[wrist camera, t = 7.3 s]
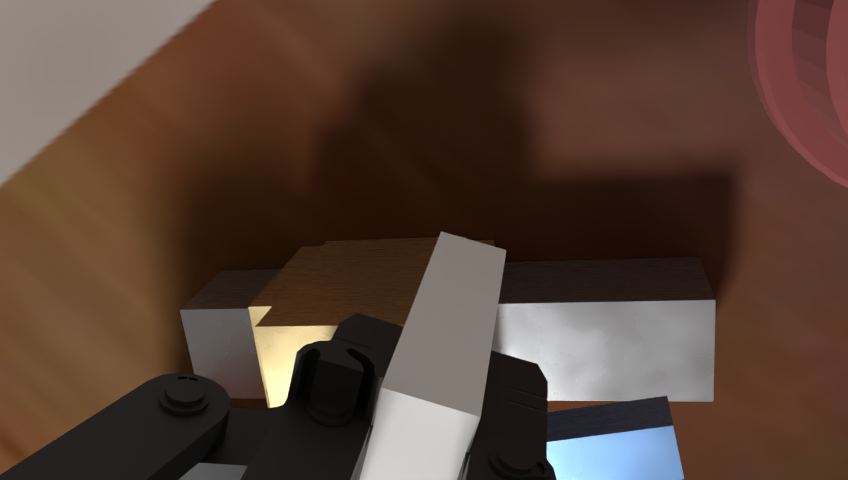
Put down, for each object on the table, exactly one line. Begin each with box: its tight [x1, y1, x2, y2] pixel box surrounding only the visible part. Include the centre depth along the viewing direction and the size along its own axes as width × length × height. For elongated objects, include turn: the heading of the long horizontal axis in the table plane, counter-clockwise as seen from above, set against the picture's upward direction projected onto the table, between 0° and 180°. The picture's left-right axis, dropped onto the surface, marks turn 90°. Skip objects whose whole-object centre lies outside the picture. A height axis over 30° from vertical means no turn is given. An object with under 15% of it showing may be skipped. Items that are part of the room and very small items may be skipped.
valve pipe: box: [180, 236, 716, 408], centre depth 28 cm, size 20×6×11 cm, turn 96°
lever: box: [547, 396, 684, 480], centre depth 22 cm, size 3×12×1 cm, turn 106°
